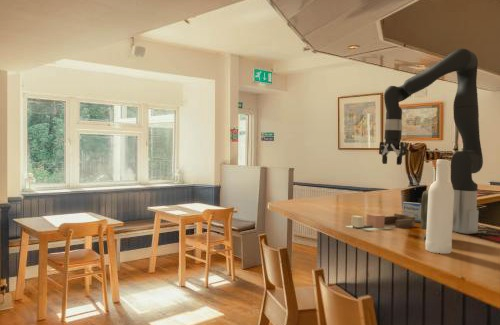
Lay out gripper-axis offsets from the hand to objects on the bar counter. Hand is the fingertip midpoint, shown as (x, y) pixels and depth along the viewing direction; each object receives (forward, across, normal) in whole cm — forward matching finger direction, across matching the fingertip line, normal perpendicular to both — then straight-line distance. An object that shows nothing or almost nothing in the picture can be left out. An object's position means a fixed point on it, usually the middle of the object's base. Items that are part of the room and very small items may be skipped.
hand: (391, 164), depth 197 cm
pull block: (+26, -13, +26) cm, 39 cm away
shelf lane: (+26, -13, +18) cm, 35 cm away
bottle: (+26, -51, +32) cm, 66 cm away
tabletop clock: (+26, -38, +16) cm, 49 cm away
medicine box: (+26, -6, -8) cm, 28 cm away
